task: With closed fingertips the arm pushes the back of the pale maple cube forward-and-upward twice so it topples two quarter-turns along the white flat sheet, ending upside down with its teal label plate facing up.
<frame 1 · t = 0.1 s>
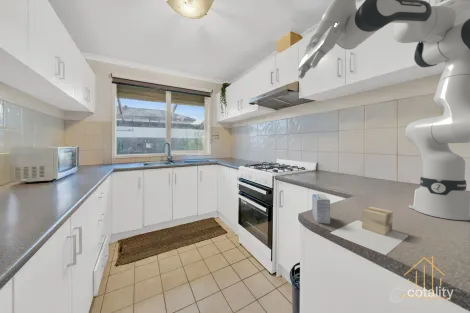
hand: (306, 72, 66), 54 cm above the worktop, tool tilted 30°, fingers open, 8 cm apart
medicine box: (320, 220, 67), on the worktop
white flat sheet: (368, 234, 55), on the worktop
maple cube: (376, 229, 58), resting on white flat sheet
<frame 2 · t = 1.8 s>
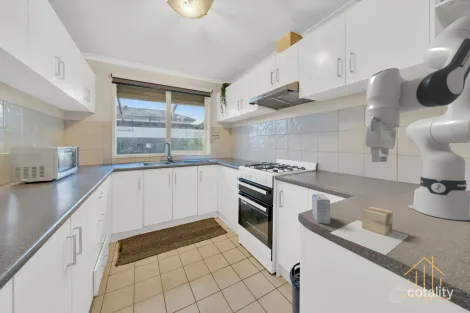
hand: (379, 161, 60), 22 cm above the worktop, tool pointing down, fingers open, 8 cm apart
nothing on the worktop moved.
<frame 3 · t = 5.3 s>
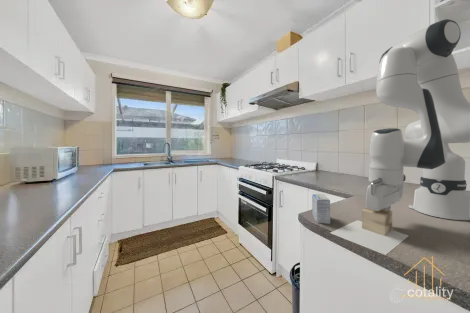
hand: (384, 218, 61), 3 cm above the worktop, tool pointing down, fingers closed
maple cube: (376, 228, 58), resting on white flat sheet, touching gripper
everything else where it was.
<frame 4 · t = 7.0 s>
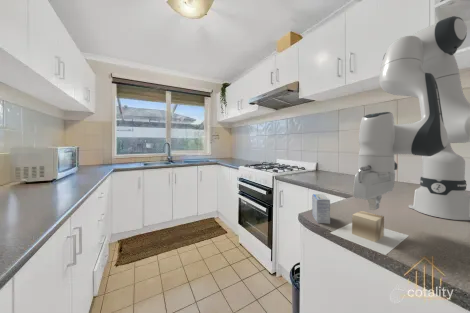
hand: (373, 209, 57), 7 cm above the worktop, tool pointing down, fingers closed
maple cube: (372, 222, 56), point 3 cm above the worktop, tilted 90°, touching white flat sheet
everything else where it was.
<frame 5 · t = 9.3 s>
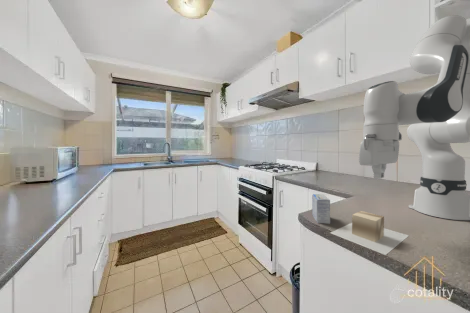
hand: (378, 178, 58), 17 cm above the worktop, tool pointing down, fingers closed
nothing on the worktop moved.
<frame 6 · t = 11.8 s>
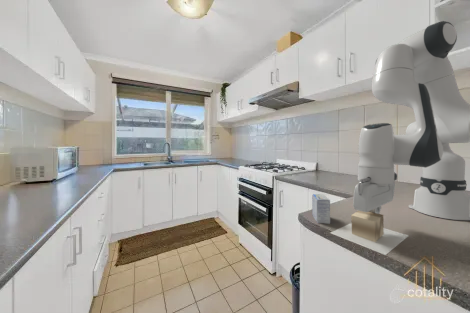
hand: (373, 219, 57), 4 cm above the worktop, tool pointing down, fingers closed
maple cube: (371, 221, 56), point 4 cm above the worktop, tilted 96°, touching gripper, white flat sheet
everything else where it was.
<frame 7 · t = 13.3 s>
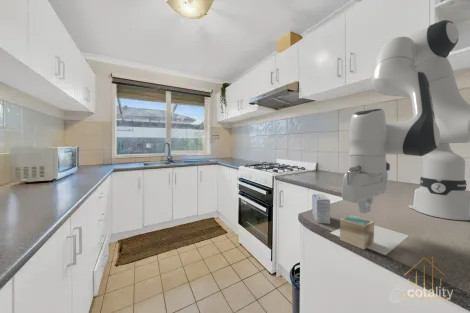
hand: (364, 212, 53), 8 cm above the worktop, tool pointing down, fingers closed
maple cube: (357, 220, 51), point 6 cm above the worktop, tilted 180°, touching white flat sheet
everything else where it was.
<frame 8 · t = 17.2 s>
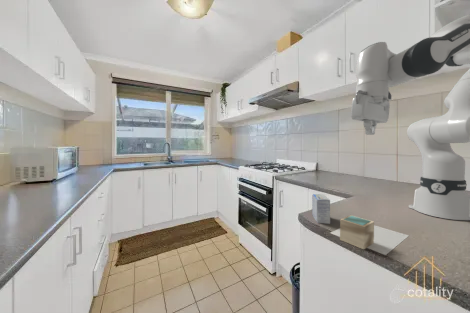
hand: (370, 134, 62), 31 cm above the worktop, tool pointing down, fingers closed
nothing on the worktop moved.
at the end: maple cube tilted 180°; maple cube inside the target area (0.7 cm from its centre), point 6.3 cm above the worktop; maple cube touching white flat sheet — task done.
